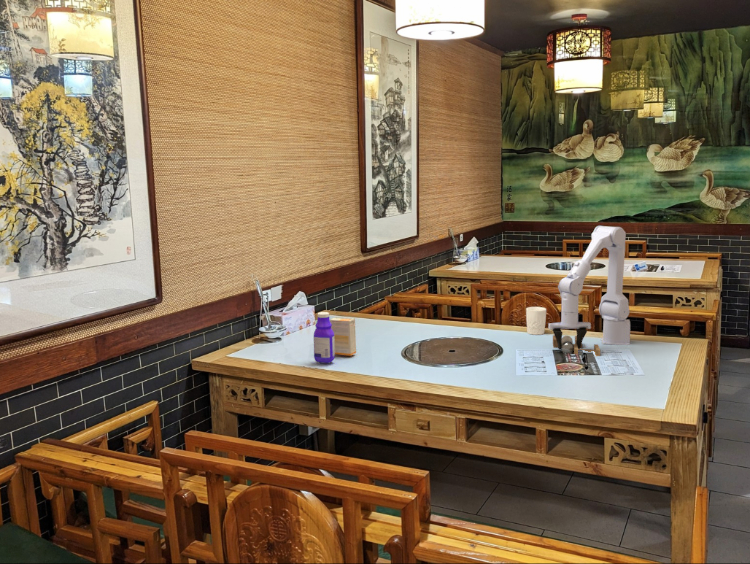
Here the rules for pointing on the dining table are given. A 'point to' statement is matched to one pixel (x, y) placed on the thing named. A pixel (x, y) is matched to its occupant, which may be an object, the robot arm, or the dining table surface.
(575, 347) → the oak cradle
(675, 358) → the dining table surface
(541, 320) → the white cup
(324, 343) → the bottle
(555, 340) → the bearing block
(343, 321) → the supplement box
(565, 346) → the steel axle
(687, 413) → the dining table surface
